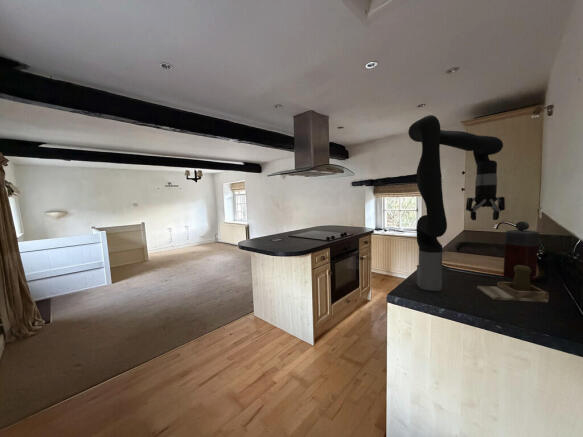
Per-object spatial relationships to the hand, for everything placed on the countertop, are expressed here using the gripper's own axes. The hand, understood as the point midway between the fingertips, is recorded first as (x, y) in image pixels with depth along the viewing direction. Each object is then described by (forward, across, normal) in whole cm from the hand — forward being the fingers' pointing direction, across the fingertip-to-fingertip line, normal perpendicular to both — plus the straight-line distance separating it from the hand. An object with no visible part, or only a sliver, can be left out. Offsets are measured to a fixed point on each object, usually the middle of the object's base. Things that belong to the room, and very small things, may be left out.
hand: (484, 220), depth 108 cm
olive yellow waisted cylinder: (+29, +9, -11) cm, 32 cm away
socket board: (+30, +4, -12) cm, 33 cm away
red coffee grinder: (+30, +23, +12) cm, 40 cm away
